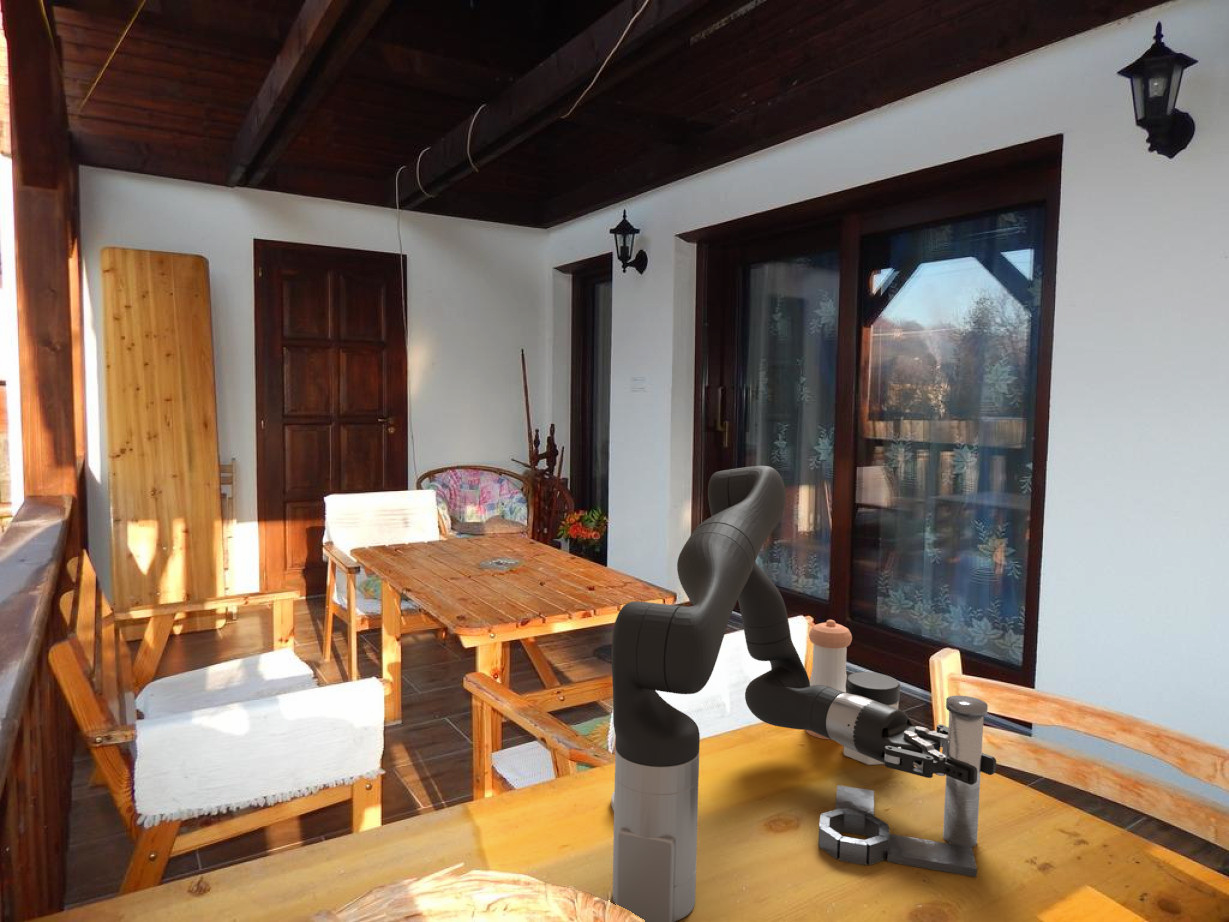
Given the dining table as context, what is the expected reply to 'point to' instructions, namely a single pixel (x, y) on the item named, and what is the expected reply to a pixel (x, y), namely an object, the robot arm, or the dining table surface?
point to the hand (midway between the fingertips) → (984, 771)
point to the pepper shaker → (829, 657)
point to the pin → (968, 749)
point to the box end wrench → (884, 838)
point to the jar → (874, 689)
